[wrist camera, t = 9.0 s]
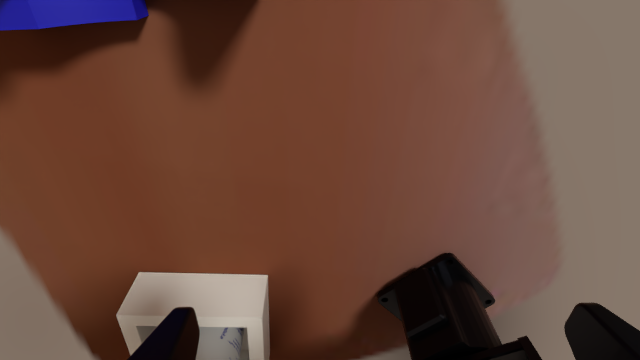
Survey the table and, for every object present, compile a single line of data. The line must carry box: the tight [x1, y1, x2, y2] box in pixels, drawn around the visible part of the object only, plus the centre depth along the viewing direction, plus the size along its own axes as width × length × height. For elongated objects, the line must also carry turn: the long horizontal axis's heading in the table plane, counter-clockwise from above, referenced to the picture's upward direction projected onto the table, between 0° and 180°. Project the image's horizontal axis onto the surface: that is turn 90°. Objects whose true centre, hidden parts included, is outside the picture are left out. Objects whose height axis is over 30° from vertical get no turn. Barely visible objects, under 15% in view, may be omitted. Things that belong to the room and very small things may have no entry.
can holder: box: [116, 272, 270, 360], centre depth 27 cm, size 9×9×4 cm
